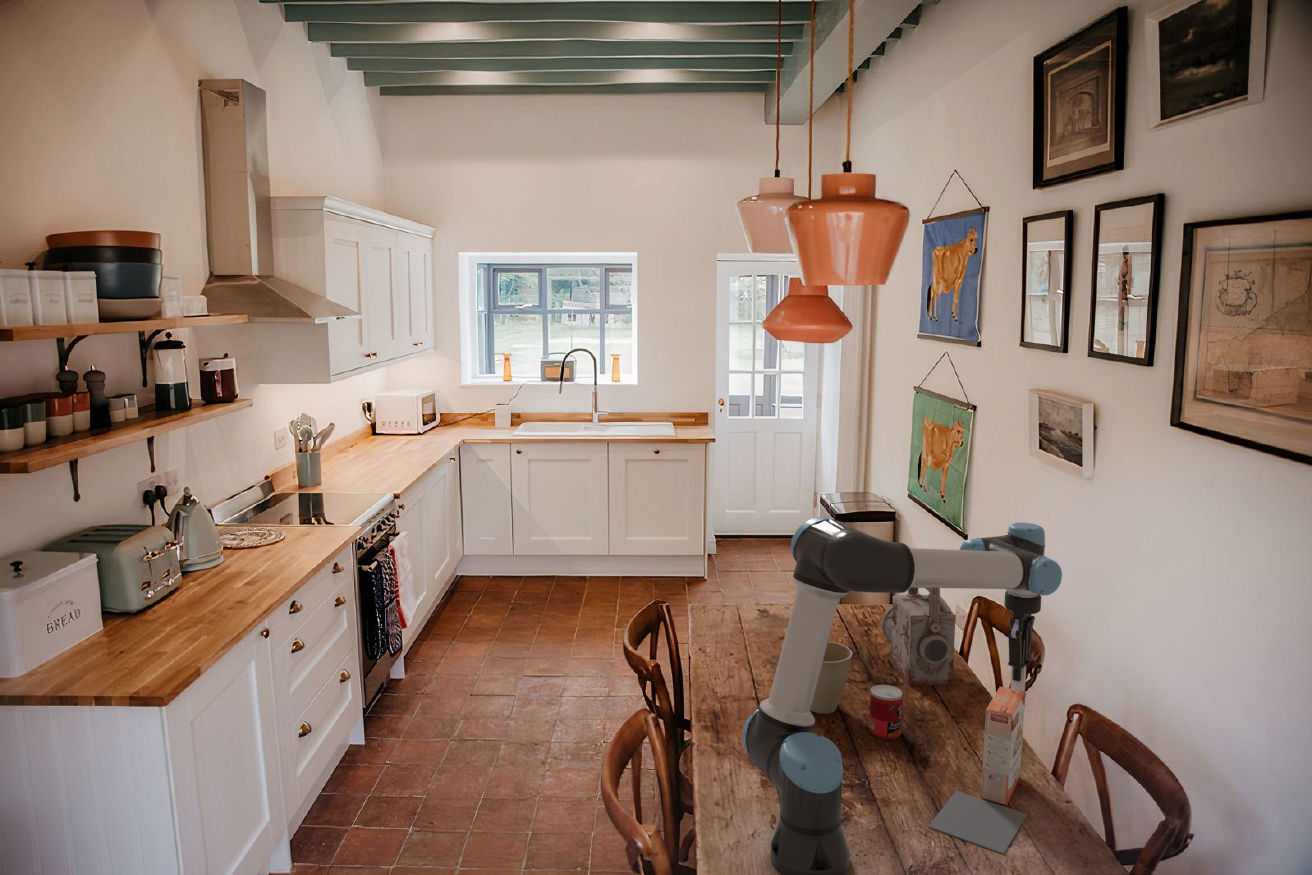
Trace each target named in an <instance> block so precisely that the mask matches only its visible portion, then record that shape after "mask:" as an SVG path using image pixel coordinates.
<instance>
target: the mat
mask: <svg viewBox="0 0 1312 875" xmlns="http://www.w3.org/2000/svg"><path fill="white" fill-rule="evenodd" d="M1027 817H1028V813H1025V812H1022V811H1019V810H1016V809H1013V808H1010V807H1007V806H1005V805H1002V804H999V803H996V802H993V801H989V800H986V799H982V798H981V797H976V796H973V795H970V794H967V793H964V792H961V791H959V790H955V791H954V793H953V794H952V796H951V797H950V798H949V799H948V800H947V802H945V804H944V805H943V807H942V808H941V809H940V811H939V812H938V813H937V814H936V816H935V817H934V818H933V820H932V821H931V822H930V824H929V825H928V828H929V829H932V830H934V831H937V832H940V833H943V834H946V835H948V836H951V837H954V838H956V839H959V840H962V841H964V842H967V843H970V844H973V845H976V846H979V847H981V848H985V849H987V850H989V851H993V852H996V853H998V854H1001V855H1005V853H1006V852H1007V850H1008V848H1009V846H1010V845H1011V843H1012V842H1013V840H1014V838H1015V837H1016V835H1017V833H1018V832H1019V831H1020V829H1021V827H1022V825H1023V823H1024V821H1025V820H1026V818H1027Z"/></svg>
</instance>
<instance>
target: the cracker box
mask: <svg viewBox="0 0 1312 875" xmlns="http://www.w3.org/2000/svg"><path fill="white" fill-rule="evenodd" d="M1026 693H1027V692H1026V691H1025V692H1023V691H1020V690H1015V689H1011V687H1009V688H1008V687H1005V686H999V688H998V689H997V691H996V693H995V694H994V696H993V698H992V699H991V700H990V702H989V704H988V706H987V708H986V709H985V724H984V743H983V757H982V769H981V770H982V771H981V772H982V773H981V789H980V799H983V800H986V801H989V802H992V803H995V804H998V805H1002V806H1005V807H1007V806H1008V804H1009V802H1010V799H1011V797H1012V796H1013V793H1014V790H1015V789H1016V787H1017V785H1018V782H1019V779H1020V776H1021V763H1022V762H1021V761H1022V749H1023V734H1024V722H1025V721H1024V720H1025V708H1026V696H1027V695H1026Z"/></svg>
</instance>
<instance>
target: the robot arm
mask: <svg viewBox="0 0 1312 875" xmlns="http://www.w3.org/2000/svg"><path fill="white" fill-rule="evenodd" d="M1045 532H1046V531H1045V529H1044V528H1043V527H1042V526H1041V525H1039V524H1036V523H1031V522H1030V523H1029V522H1014V523H1011V524H1009V526H1008V530H1007V534H1003V535H999V536H989V537H988V536H987V537H986V536H985V537H976V538H971V539H967V540H964V542H962V543H961V545H960V548H959V549H943V548H942V549H941V548H916V547H913V548H912V547H910V546H909V545H908V544H906V543H904V542H899V541H898V542H897V541H896V542H895V541H893V542H892V541H888V540H884V539H882V538H881V539H880V538H878V537H875V536H873V535H871V534H868V533H865V532H864V531H860V530H859V529H856V528H854V527H852V526H849V525H848V524H847V523H846V524H845V523H843V522H842V521H839V520H837V519H835V518H830V517H826V516H825V517H824V516H817V517H813V518H810V519H809V520H807V521H806V522H803V523H802V524H801V525H800V526H799V527H798V528H797V529H796V531H795V532H794V534H793V536H792V538H791V542H790V552H791V556H792V557H793V559H794V561H795V567H794V570H793V576H792V580H793V581H794V583H795V584H796V586H797V590H796V594H795V597H794V601H793V605H792V609H791V612H790V613H791V614H790V617H789V620H788V624H787V627H786V633H785V636H784V639H783V643H782V648H781V652H780V656H779V659H778V663H777V667H776V671H775V675H774V678H773V681H772V687H771V690H770V694H769V697H767V698H766V699H763V700H762V701H760V703H759V706H758V708H757V709H756V710H755V711H753V712H754V713H752V714H749V717H748V718H747V719H746V720H745V723H744V726H743V728H742V736H741V737H742V738H741V739H742V745H743V748H744V750H745V752H746V754H747V755H748V758H749V759H750V760H751V762H752V764H753V765H754V766H755V767H756V768H757V769H759V770H760V771H761V772H762V773H763V774H764V776H765V777H766V778H767V779H768V781H770V783H771V784H772V785H773V786H774V787H775V788H776V789H777V791H778V792H779V820H778V823H777V826H776V828H775V831H774V834H773V836H772V839H771V841H770V842H771V843H770V861H771V864H772V866H773V867H774V868H775V869H776V870H777V871H778V872H779V873H780V874H781V875H845V874H846V873H847V872H848V870H849V868H850V857H851V856H850V848H849V845H848V842H847V840H846V836H845V833H844V830H843V827H842V802H843V801H842V800H843V799H842V796H843V777H844V766H843V759H842V758H843V757H842V754H841V751H840V750H839V748H838V747H837V745H836V744H835V743H834V742H833V741H832V740H830V739H829V738H827V737H825V736H823V735H821V736H818V734H817V733H814V732H813V730H814V726H815V722H816V718H815V717H814V715H813V713H812V711H811V710H810V709H811V705H812V701H813V697H814V693H815V690H816V686H817V682H818V678H819V674H820V670H821V667H822V663H823V659H824V655H825V651H826V647H827V644H828V642H829V639H830V635H831V632H832V628H833V625H834V624H833V623H834V619H835V616H836V612H837V609H838V608H837V607H838V605H839V602H840V599H842V598H843V597H845V596H847V595H849V594H850V591H851V592H858V593H870V594H871V593H876V594H877V593H879V594H880V593H882V594H903V593H906V592H908V590H909V589H910V588H918V589H925V588H940V589H970V590H972V589H973V590H974V589H975V590H977V589H979V590H980V589H981V590H1005V592H1004V605H1003V606H1004V608H1005V609H1006V610H1008V611H1009V612H1011V613H1012V616H1011V617H1010V619H1009V625H1010V628H1008V629H1007V636H1008V637H1007V638H1008V662H1007V666H1009V667H1011V673H1010V674H1011V677H1010V689H1015V690H1020V691H1023V692H1026V676H1027V666H1030V665H1031V661H1029V660H1030V654H1031V644H1032V638H1033V631H1034V630H1033V629H1034V628H1033V627H1034V622H1035V619H1036V617H1035V616H1034V615H1035V614H1038V613H1039V612H1041V609H1042V596H1049V595H1052V594H1053V593H1055V592H1056V591H1057V590H1058V589H1059V587H1060V586H1061V583H1062V580H1063V578H1062V577H1063V571H1062V567H1061V565H1060V564H1058V562H1057V561H1055V560H1053V559H1051V558H1049V557H1047V556H1046V555H1045V550H1046V548H1045V547H1046V536H1045V534H1046V533H1045Z"/></svg>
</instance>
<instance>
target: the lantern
mask: <svg viewBox="0 0 1312 875" xmlns="http://www.w3.org/2000/svg"><path fill="white" fill-rule="evenodd" d="M924 589H925V590H926V591H928V594H921V593H919V588H910V589H909V590H908V591H907V593H905V594H906V595H905V594H903V595H902V594H901V595H893V596H892V605H890V606H889V607H888V608H887V609H886V611H885V612H884V614H883V615H882V620H881V622H880V627H881V630H882V634H883V636H884V637H885V639H886V640H887V641H888V642H889V643H890V644H891V646H890V647H891V649H890V663H892V665H893V667H894V668H895V669H896V671H897V672H898V673H899V675H900V677H902V679H903V680H904V681H905V683H906V684H907V686H908V687H935V686H937V687H938V686H939V687H940V686H953V684H954V682H953V681H954V663H955V662H954V660H955V659H954V658H955V636H956V622H957V615H956V614H955V613H954V612H953V611H952V610H951V607H950V606H949V605H948V603H947V602H946V601H945V599H944V598H943V597H942V596H941V588H924Z"/></svg>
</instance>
